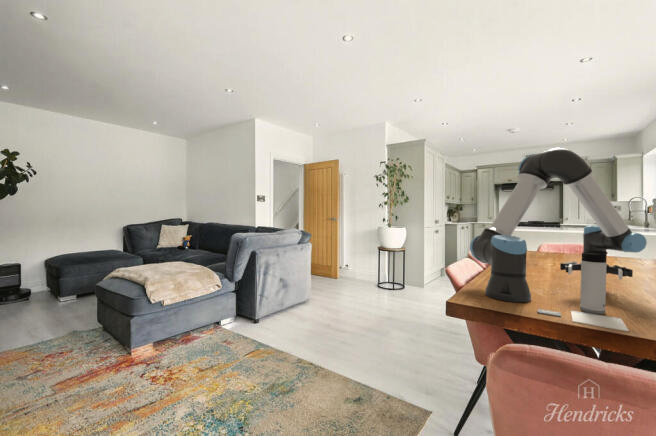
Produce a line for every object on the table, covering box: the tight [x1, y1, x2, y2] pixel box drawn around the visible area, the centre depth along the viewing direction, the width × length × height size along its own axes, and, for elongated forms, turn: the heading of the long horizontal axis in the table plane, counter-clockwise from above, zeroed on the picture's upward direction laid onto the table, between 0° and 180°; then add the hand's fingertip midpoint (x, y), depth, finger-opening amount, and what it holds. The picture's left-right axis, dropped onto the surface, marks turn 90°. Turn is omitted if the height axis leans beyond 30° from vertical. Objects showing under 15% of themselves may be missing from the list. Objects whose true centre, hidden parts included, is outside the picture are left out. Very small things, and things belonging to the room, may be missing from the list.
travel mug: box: [579, 251, 608, 315], centre depth 100 cm, size 6×7×20 cm
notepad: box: [570, 310, 630, 332], centre depth 91 cm, size 12×12×1 cm
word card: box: [537, 308, 562, 318], centre depth 97 cm, size 6×4×1 cm, turn 53°
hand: (594, 272), depth 107 cm, fingers open, 13 cm apart
